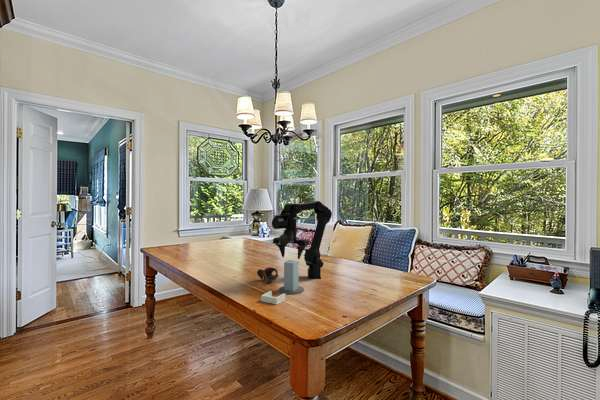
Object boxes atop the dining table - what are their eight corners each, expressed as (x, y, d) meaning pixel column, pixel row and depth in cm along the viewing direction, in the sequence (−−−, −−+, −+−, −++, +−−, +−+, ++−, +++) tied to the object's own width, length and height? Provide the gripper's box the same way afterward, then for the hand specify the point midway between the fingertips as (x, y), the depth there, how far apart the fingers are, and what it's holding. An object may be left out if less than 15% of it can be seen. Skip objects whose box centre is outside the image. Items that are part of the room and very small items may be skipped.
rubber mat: (302, 286, 144) (302, 284, 144) (305, 293, 132) (305, 292, 132) (278, 286, 142) (278, 285, 142) (279, 294, 130) (279, 293, 130)
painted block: (289, 286, 140) (289, 260, 140) (298, 288, 138) (298, 261, 138) (284, 289, 136) (284, 262, 136) (293, 291, 133) (293, 263, 133)
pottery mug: (279, 279, 157) (281, 268, 153) (273, 292, 149) (275, 280, 145) (258, 273, 159) (260, 261, 155) (252, 285, 150) (253, 273, 146)
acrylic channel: (270, 296, 128) (270, 290, 128) (285, 299, 124) (285, 293, 124) (261, 301, 122) (261, 295, 122) (276, 304, 118) (276, 298, 118)
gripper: (266, 228, 145) (266, 259, 145) (299, 230, 136) (299, 263, 136) (278, 226, 155) (278, 255, 155) (309, 228, 146) (309, 258, 146)
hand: (290, 258), depth 148 cm, fingers open, 9 cm apart
